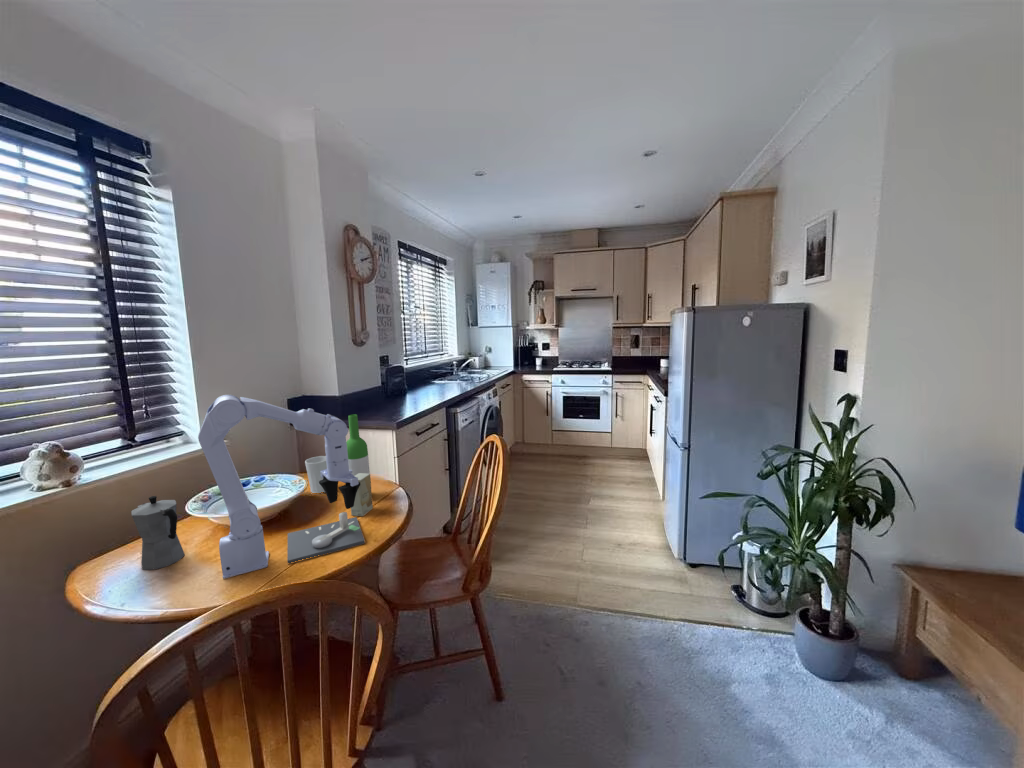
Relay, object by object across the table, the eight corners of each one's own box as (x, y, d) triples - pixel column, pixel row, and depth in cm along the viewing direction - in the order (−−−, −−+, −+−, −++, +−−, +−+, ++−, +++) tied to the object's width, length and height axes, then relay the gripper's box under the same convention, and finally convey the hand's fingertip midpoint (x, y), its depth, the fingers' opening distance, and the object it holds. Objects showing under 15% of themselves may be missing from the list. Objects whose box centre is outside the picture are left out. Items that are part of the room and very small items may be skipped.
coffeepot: (127, 564, 106) (115, 500, 103) (169, 546, 115) (159, 486, 112) (161, 577, 100) (149, 509, 97) (203, 557, 108) (193, 494, 106)
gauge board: (287, 564, 104) (287, 560, 104) (288, 536, 118) (287, 533, 118) (365, 543, 113) (364, 539, 113) (356, 519, 127) (356, 516, 127)
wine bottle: (343, 499, 143) (335, 416, 138) (363, 491, 149) (356, 411, 144) (356, 504, 138) (349, 418, 134) (376, 496, 144) (369, 414, 140)
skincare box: (363, 516, 129) (359, 480, 127) (350, 515, 130) (347, 479, 128) (373, 507, 135) (370, 472, 133) (362, 506, 136) (358, 472, 134)
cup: (303, 494, 148) (299, 463, 146) (317, 485, 155) (314, 455, 154) (323, 495, 146) (319, 463, 144) (336, 486, 154) (333, 456, 152)
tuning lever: (320, 549, 108) (318, 531, 107) (308, 545, 110) (306, 527, 110) (360, 526, 120) (358, 510, 119) (348, 523, 122) (346, 507, 121)
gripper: (365, 459, 114) (369, 504, 116) (333, 451, 122) (338, 494, 124) (344, 467, 108) (348, 514, 110) (312, 458, 116) (316, 503, 118)
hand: (341, 504), depth 117 cm, fingers open, 7 cm apart
